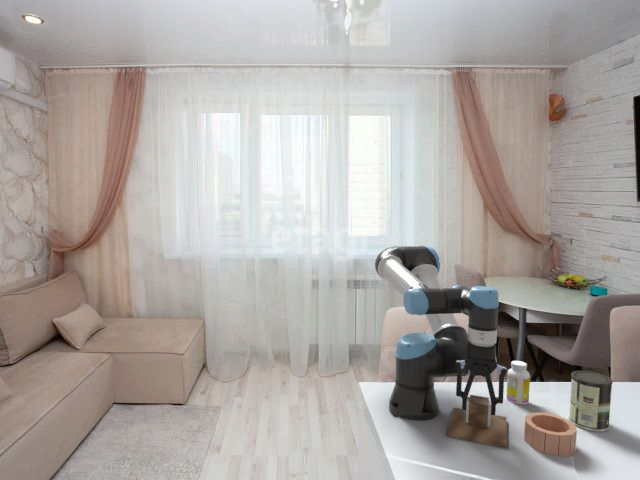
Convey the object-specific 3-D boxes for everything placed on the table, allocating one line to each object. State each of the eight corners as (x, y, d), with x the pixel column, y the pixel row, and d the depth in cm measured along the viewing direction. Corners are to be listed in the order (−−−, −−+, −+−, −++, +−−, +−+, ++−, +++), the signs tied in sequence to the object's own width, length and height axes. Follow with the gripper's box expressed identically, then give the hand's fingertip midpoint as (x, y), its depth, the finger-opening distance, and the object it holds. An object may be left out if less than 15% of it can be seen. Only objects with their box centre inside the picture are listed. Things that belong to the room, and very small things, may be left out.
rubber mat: (445, 438, 121) (445, 436, 121) (451, 412, 136) (451, 411, 136) (508, 451, 115) (508, 449, 115) (507, 423, 130) (508, 421, 130)
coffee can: (600, 416, 135) (603, 371, 133) (615, 434, 125) (619, 385, 123) (563, 413, 137) (566, 368, 135) (575, 429, 127) (578, 382, 125)
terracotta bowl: (525, 451, 115) (526, 429, 115) (523, 429, 126) (524, 409, 126) (578, 462, 111) (579, 439, 110) (571, 438, 122) (572, 417, 121)
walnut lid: (447, 436, 121) (448, 406, 120) (452, 412, 135) (454, 385, 134) (506, 448, 115) (508, 417, 115) (506, 421, 129) (507, 393, 129)
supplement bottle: (527, 398, 146) (529, 361, 145) (529, 407, 140) (532, 368, 139) (505, 395, 148) (507, 358, 147) (506, 404, 142) (508, 365, 141)
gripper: (446, 342, 123) (443, 422, 125) (517, 351, 116) (513, 436, 118) (449, 334, 130) (446, 410, 132) (516, 343, 123) (512, 423, 125)
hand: (478, 422), depth 125 cm, fingers closed on walnut lid, 5 cm apart
